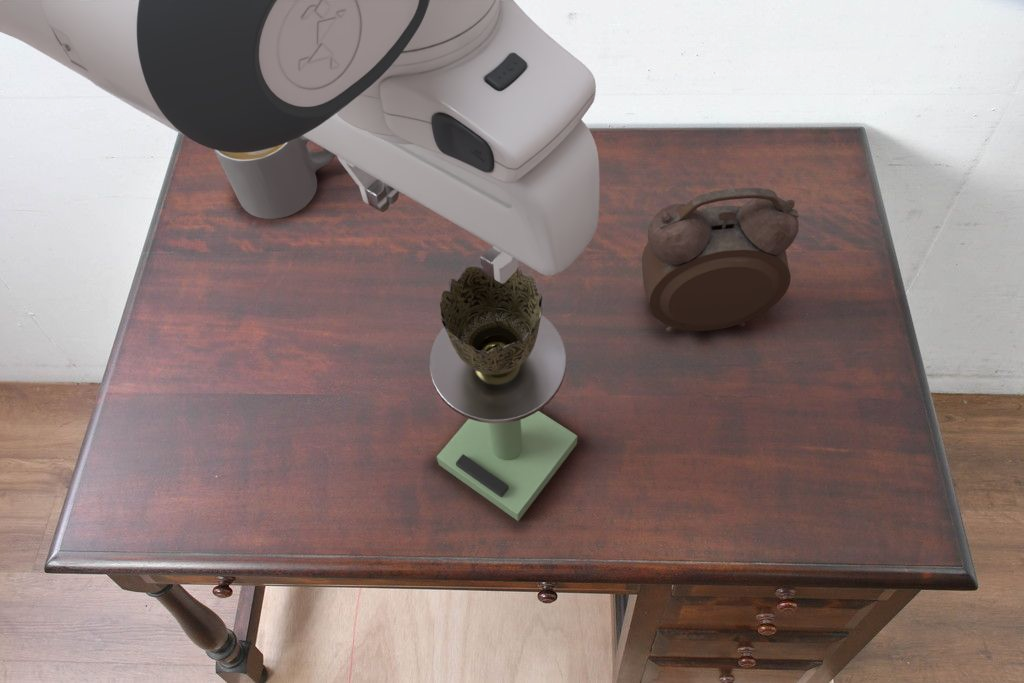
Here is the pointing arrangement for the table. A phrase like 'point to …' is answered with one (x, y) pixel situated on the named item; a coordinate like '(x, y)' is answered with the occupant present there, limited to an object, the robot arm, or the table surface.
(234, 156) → the coffee mug
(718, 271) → the alarm clock
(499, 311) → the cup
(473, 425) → the scale
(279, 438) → the table surface
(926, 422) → the table surface
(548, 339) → the brushed steel disc
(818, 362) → the table surface
